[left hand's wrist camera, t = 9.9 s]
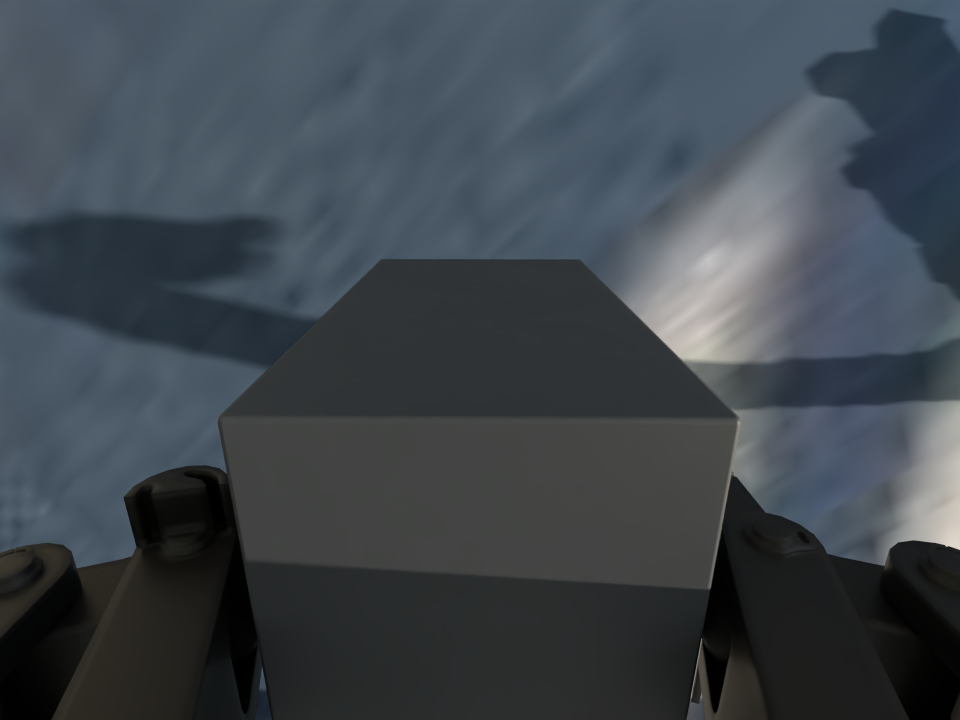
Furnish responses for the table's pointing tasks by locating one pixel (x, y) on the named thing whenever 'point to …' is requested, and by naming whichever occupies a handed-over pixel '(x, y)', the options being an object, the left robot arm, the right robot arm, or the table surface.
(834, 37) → the table surface
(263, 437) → the bar
